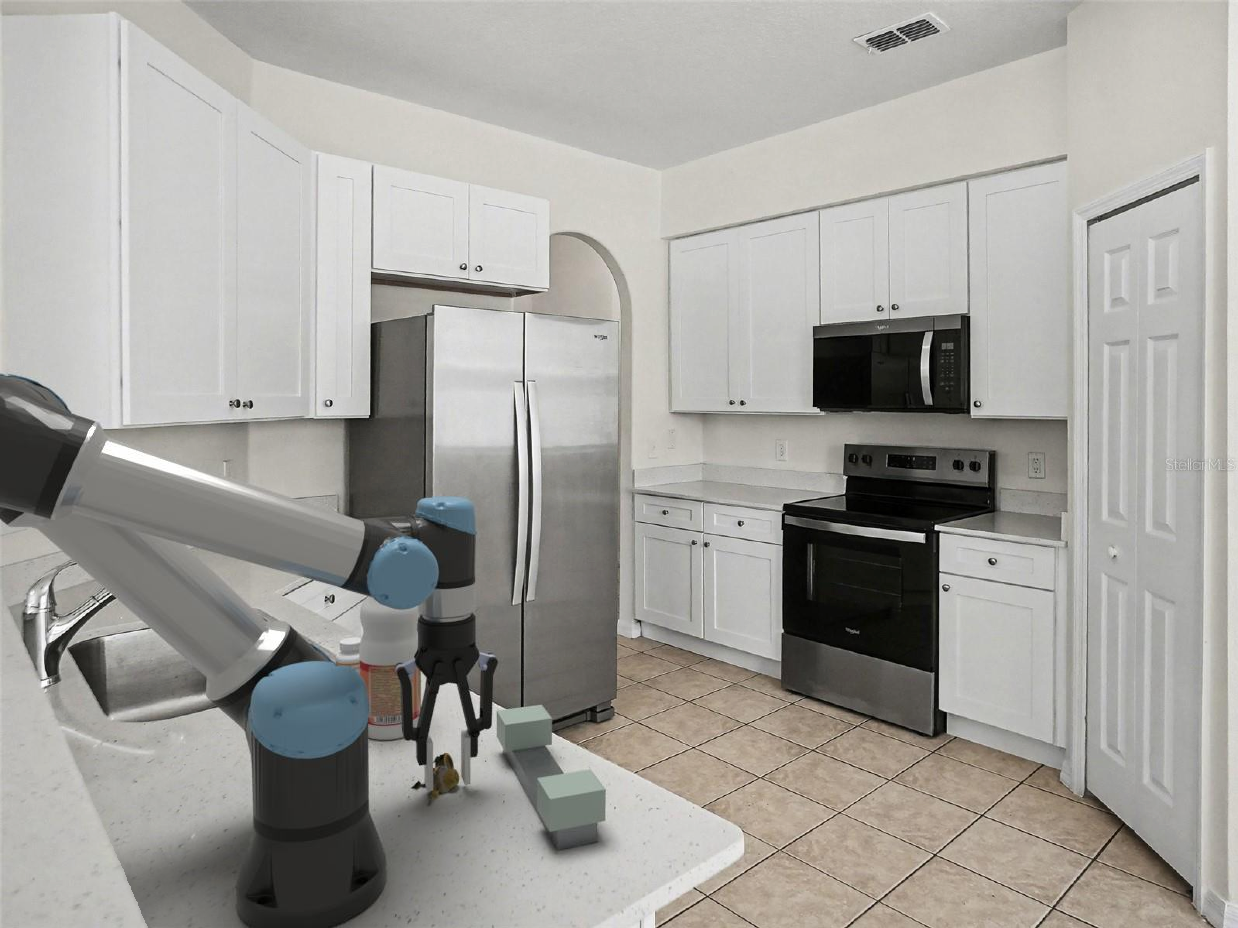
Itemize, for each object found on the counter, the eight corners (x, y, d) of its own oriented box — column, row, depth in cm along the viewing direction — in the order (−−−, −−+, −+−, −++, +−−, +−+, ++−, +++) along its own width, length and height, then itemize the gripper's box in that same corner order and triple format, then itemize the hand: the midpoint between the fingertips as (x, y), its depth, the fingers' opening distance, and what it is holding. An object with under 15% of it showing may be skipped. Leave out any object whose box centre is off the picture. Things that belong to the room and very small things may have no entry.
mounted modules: (549, 831, 94) (550, 799, 93) (496, 736, 120) (496, 710, 119) (605, 820, 96) (605, 789, 96) (541, 729, 122) (541, 704, 122)
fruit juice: (393, 746, 121) (391, 565, 119) (347, 733, 126) (344, 559, 123) (433, 724, 130) (432, 555, 127) (389, 713, 134) (387, 549, 132)
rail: (557, 850, 94) (557, 830, 94) (503, 751, 120) (503, 735, 120) (597, 842, 96) (597, 822, 96) (535, 746, 122) (535, 730, 122)
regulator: (434, 840, 99) (474, 766, 114) (422, 813, 99) (464, 742, 113) (382, 850, 101) (428, 776, 116) (370, 824, 100) (418, 753, 115)
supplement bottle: (350, 686, 146) (350, 634, 145) (374, 690, 144) (373, 638, 143) (329, 696, 141) (328, 642, 140) (353, 701, 139) (352, 646, 138)
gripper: (504, 601, 112) (503, 760, 114) (376, 612, 106) (378, 780, 108) (517, 615, 105) (516, 784, 107) (381, 627, 99) (383, 807, 101)
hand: (447, 782), depth 107 cm, fingers open, 4 cm apart
